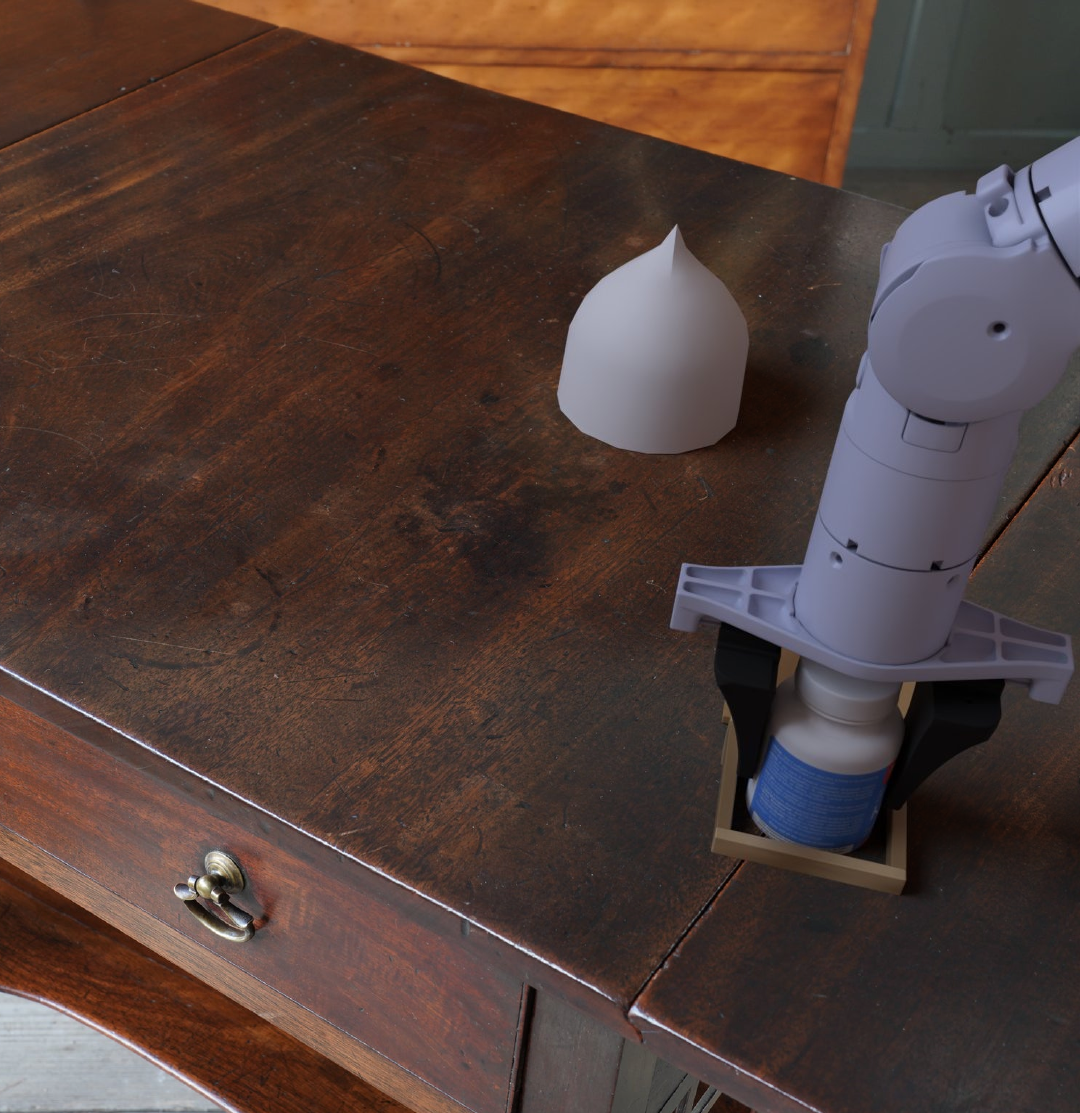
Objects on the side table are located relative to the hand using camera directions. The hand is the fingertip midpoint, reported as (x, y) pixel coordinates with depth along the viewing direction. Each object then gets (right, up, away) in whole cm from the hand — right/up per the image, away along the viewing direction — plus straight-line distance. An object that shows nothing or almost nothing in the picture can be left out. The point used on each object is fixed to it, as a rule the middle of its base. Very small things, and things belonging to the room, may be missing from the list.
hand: (819, 776), depth 62 cm
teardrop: (-1, +19, +28) cm, 34 cm away
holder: (0, -3, +2) cm, 3 cm away
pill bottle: (0, -3, +2) cm, 4 cm away
